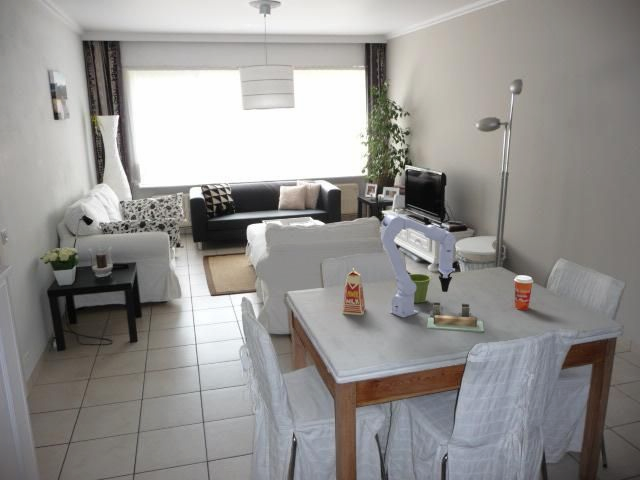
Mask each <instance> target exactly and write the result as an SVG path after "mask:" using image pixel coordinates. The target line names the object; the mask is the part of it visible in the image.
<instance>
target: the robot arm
mask: <svg viewBox="0 0 640 480" xmlns="http://www.w3.org/2000/svg"><path fill="white" fill-rule="evenodd" d="M407 229H411V230H414V231H416V232H419V233H422V234H423V236H424V238H426V239H430V240H432V241H434V242H437V243H439V251H438V252H439V256H438V270H437V271H438V272H439V275H438V279H439V283H440V285H441V292H443V293H448V291H449V286H450V283H451V282H452V279H453V277H452V276H451V274H452V272H455V271H456V268H453V263H454V261H453V258H454V245H455V244H456V243H457V239H456V236H455V235H454V233H451V231H450V232H449V231H447V230H446V228H439V227H437V225H436V224H428V225H425V224H421V223H419V222H417V221H415V220H414V219H410V218H408V217H405V216H403V215H396V214H394V213H388V214H386V215H384V218H383V220H381V230H380V231H381V232H380V241H381V243H382V245H383V248H384V249H385V253H386V255H387V257H388V260H389V263H390V264H391V267H392V270H393V272H394V274H395V275H394V277H395V285H396V287H397V292H396V294H395V295H393V297H392V299H391V310H390V313H391V314H394V315H395V316H398V317H401V318H406V317H409V316H413V315H415V314H417V313H419V311H418V310H415V302H414V293H415V291H416V284H415V283H414V282H413V281H412V280H411V278H410V276H409V275H410V274H409V273H408V270H407V268H406V266H405V264H404V262H403V259H402V257H401V254H400V251H399V249H398V247H397V244H396V242H395V239H396V237H397V236H398V235H399V234H400V233H401V232H402V231H403V230H405V231H406V230H407Z"/></svg>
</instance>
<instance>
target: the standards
mask: <svg viewBox="0 0 640 480" xmlns="http://www.w3.org/2000/svg"><path fill="white" fill-rule="evenodd" d="M434 315H442V316H443V311H441V302H440V301H433V302H432V310H430V315H429V316H430V317H429V318H434ZM458 317H472V313H470V303H461V312H459V313H458Z"/></svg>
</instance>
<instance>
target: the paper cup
mask: <svg viewBox="0 0 640 480" xmlns="http://www.w3.org/2000/svg"><path fill="white" fill-rule="evenodd" d="M513 280H514V308H515V309H516V308H517V310H520V311H527V310H528V309H529V307H530V301H531V293H532V287H533V283H534V280H533V278H532V277H531V276H529V275H523V274H521V275H516V276H515V278H514V279H513Z"/></svg>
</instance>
